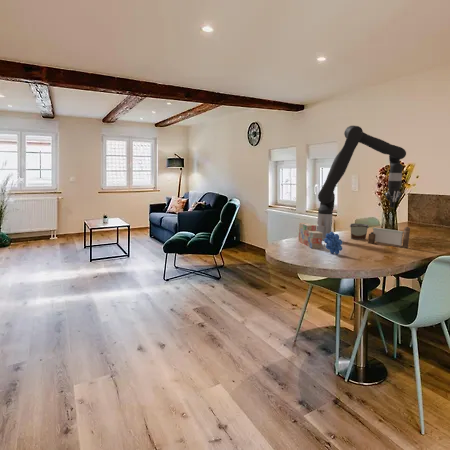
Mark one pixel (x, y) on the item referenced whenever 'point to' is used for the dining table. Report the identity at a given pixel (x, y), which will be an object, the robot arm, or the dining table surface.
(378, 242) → the sill
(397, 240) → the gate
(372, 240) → the latch post
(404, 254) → the dining table surface
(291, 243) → the dining table surface
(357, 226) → the food container
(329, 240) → the grapes
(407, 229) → the hinge post
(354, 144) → the robot arm
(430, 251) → the dining table surface
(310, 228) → the stack of blocks
